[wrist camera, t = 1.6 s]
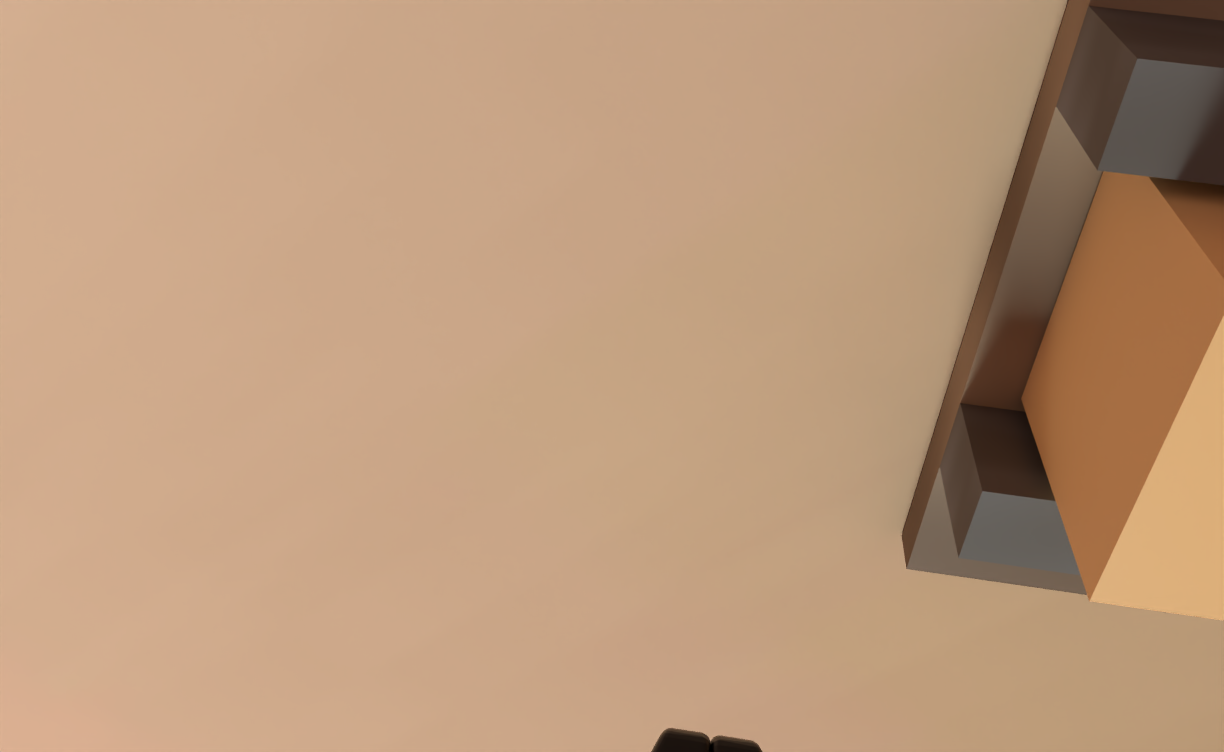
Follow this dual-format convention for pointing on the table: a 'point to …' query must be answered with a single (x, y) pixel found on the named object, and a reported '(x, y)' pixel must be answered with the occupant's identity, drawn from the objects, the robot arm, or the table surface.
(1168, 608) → the block
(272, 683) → the table surface
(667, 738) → the robot arm
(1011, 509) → the chute
